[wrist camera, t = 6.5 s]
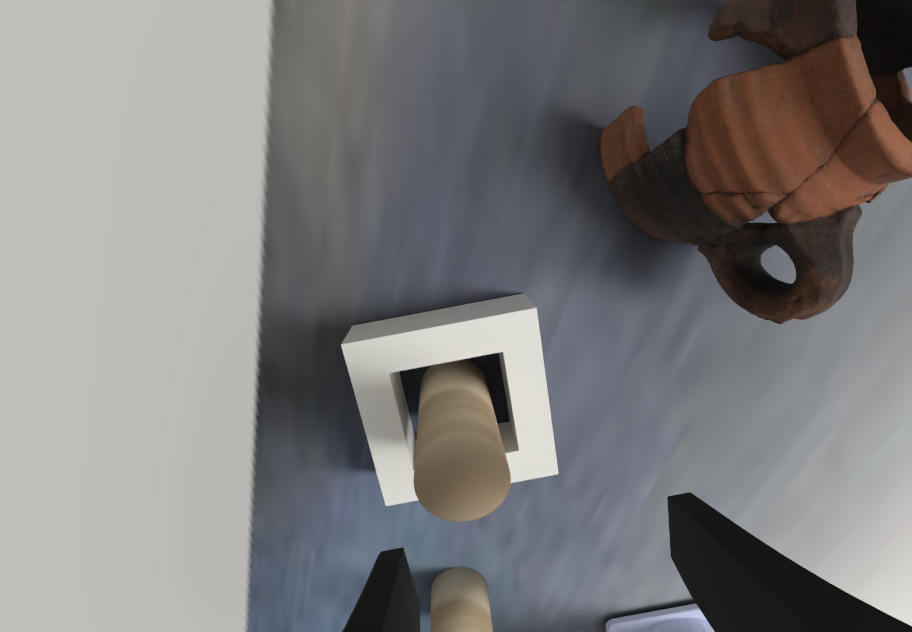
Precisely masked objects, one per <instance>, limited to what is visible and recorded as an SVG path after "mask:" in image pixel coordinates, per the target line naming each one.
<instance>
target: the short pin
mask: <svg viewBox="0 0 912 632" xmlns="http://www.w3.org/2000/svg"><path fill="white" fill-rule="evenodd" d="M431 632H493V628H492V621H491V613H490V606H489V598H488V591H487V584H486V581H485V579H484V577H483V576H482V575H481V574H480V573H479V572H477V571H476V570H473V569H471V568H467V567H454V568H450V569H447V570H445V571H443V572H442V573H440V574H439V575H438V576H437V577H436V578H435V579H434V581H433V583H432V586H431Z"/></svg>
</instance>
